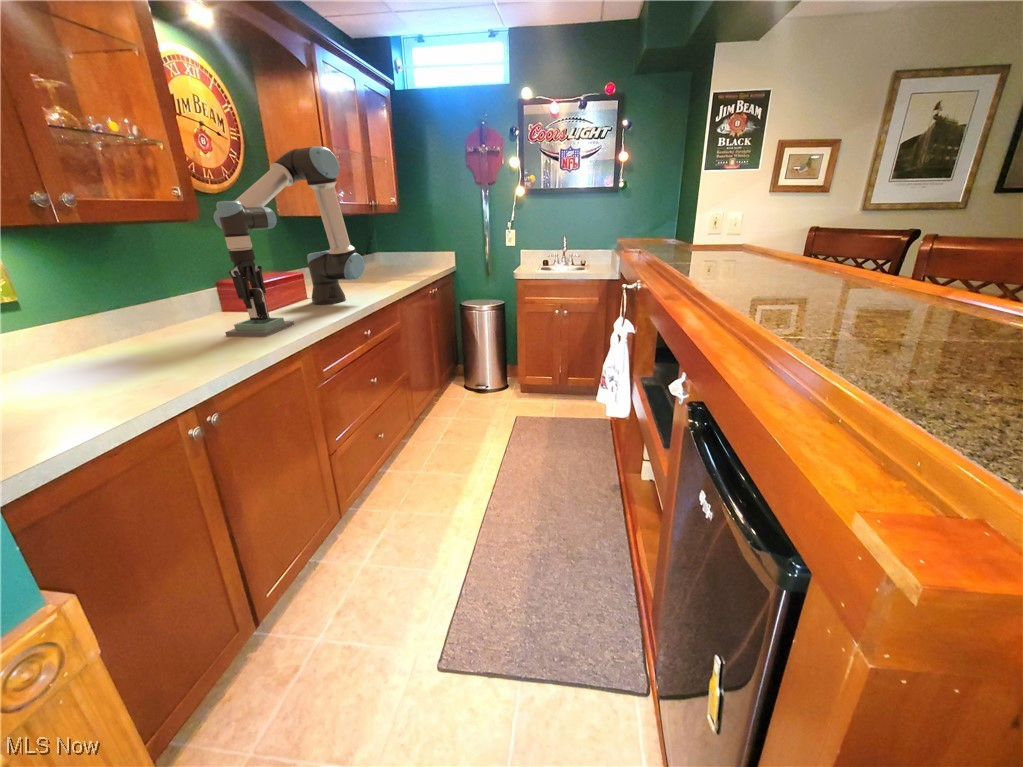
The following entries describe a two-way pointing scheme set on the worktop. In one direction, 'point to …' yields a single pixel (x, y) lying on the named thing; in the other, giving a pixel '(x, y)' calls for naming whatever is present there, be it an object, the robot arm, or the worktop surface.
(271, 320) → the dock
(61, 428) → the worktop surface
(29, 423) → the worktop surface
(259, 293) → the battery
